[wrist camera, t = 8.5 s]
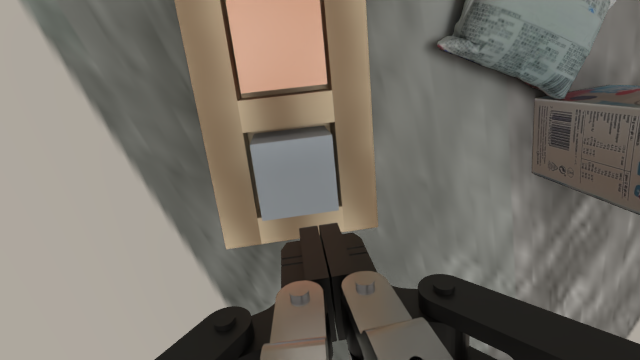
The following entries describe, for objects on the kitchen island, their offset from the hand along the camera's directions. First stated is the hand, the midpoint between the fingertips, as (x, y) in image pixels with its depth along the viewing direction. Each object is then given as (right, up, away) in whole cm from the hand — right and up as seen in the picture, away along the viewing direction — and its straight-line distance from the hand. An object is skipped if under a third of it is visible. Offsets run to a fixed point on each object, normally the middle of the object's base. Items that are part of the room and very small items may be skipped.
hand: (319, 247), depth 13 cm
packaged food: (+15, +15, +14) cm, 25 cm away
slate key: (-2, +4, +12) cm, 13 cm away
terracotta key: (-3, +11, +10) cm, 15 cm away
